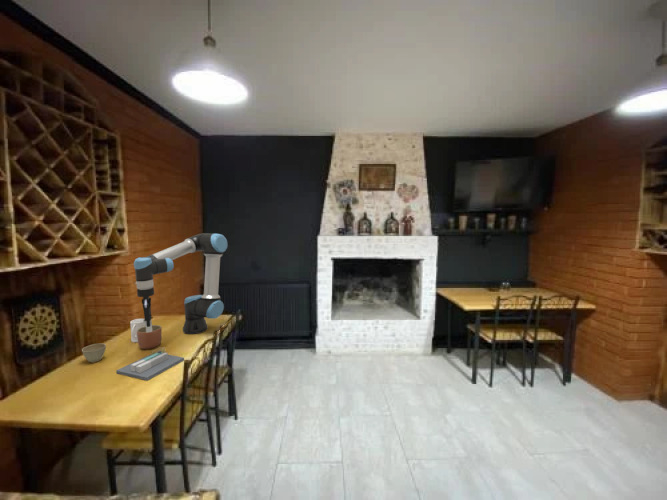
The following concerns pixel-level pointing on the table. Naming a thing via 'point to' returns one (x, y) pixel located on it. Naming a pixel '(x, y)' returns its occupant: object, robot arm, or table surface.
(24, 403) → the table surface
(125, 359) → the table surface
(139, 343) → the planter
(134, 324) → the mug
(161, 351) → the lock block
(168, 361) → the board
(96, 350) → the grey bowl
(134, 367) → the tong arm
